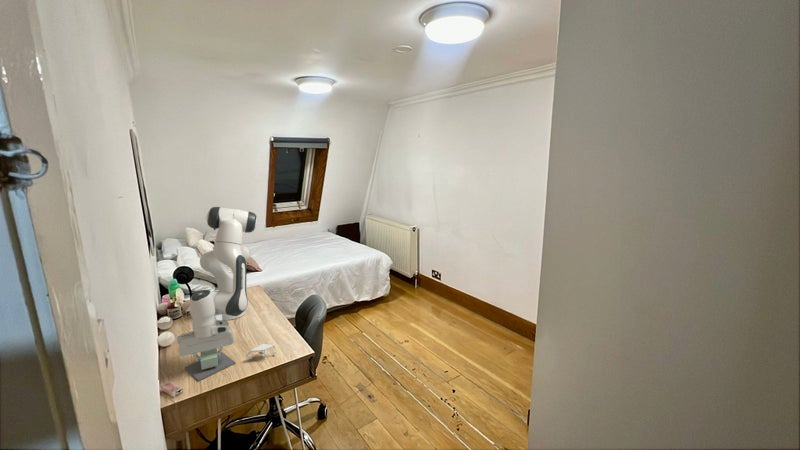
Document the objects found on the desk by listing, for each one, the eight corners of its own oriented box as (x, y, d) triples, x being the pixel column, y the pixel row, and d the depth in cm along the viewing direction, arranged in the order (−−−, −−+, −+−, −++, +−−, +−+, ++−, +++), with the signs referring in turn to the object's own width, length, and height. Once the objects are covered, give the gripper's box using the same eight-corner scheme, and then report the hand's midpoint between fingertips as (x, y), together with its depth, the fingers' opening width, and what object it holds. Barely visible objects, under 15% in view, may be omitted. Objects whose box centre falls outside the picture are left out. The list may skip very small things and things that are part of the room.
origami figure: (271, 348, 159) (270, 338, 158) (278, 356, 153) (277, 346, 152) (244, 358, 151) (243, 348, 150) (250, 366, 145) (249, 356, 144)
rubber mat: (184, 368, 144) (184, 366, 144) (220, 352, 156) (220, 350, 155) (198, 381, 136) (198, 380, 135) (235, 363, 147) (235, 362, 147)
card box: (201, 369, 140) (200, 361, 139) (201, 358, 148) (200, 350, 147) (218, 365, 143) (217, 356, 142) (217, 354, 150) (216, 346, 150)
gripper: (175, 338, 134) (180, 369, 137) (232, 326, 144) (235, 355, 147) (176, 331, 140) (181, 361, 143) (231, 319, 149) (234, 348, 152)
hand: (209, 358), depth 145 cm, fingers closed on card box, 6 cm apart
